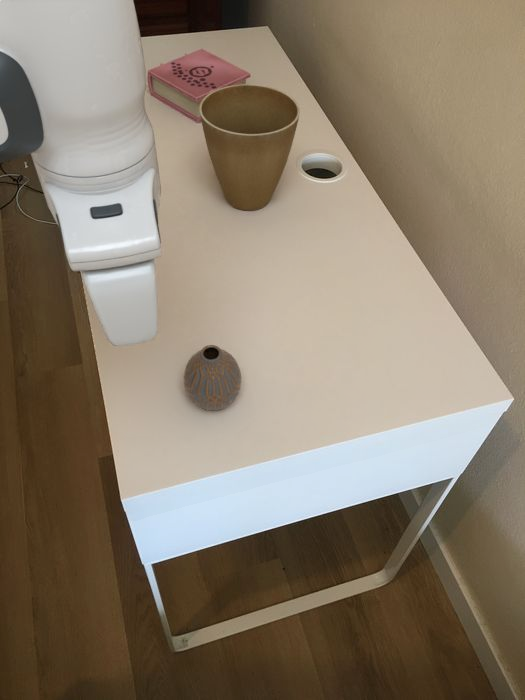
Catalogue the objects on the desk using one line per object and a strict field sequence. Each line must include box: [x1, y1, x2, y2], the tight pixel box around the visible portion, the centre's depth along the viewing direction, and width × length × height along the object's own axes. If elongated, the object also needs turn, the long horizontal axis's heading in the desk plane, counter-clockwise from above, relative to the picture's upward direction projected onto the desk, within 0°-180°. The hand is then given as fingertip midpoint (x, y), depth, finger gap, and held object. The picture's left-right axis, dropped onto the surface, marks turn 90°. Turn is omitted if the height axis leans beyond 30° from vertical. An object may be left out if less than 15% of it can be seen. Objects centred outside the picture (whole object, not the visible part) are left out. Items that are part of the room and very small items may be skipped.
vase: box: [183, 344, 242, 411], centre depth 69 cm, size 7×7×9 cm
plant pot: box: [199, 83, 301, 212], centre depth 91 cm, size 15×15×16 cm
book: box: [146, 48, 252, 124], centre depth 116 cm, size 14×15×5 cm
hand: (129, 300), depth 55 cm, fingers open, 8 cm apart
